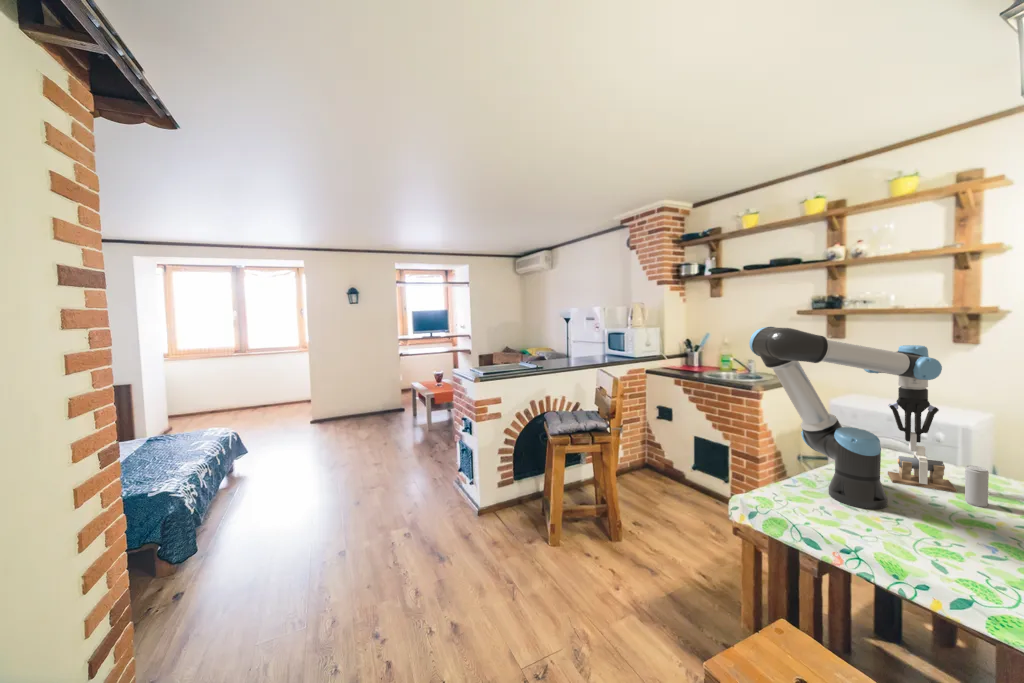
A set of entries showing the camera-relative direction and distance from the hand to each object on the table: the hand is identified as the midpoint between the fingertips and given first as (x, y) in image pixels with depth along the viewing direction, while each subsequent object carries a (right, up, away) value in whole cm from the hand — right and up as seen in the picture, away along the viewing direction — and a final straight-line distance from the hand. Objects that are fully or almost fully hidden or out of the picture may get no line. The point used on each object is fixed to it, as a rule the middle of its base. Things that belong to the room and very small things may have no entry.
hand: (912, 450), depth 142 cm
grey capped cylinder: (+2, -7, -1) cm, 7 cm away
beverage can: (+3, -13, -17) cm, 21 cm away
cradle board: (+2, -12, -1) cm, 12 cm away
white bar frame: (+2, -11, -1) cm, 11 cm away
